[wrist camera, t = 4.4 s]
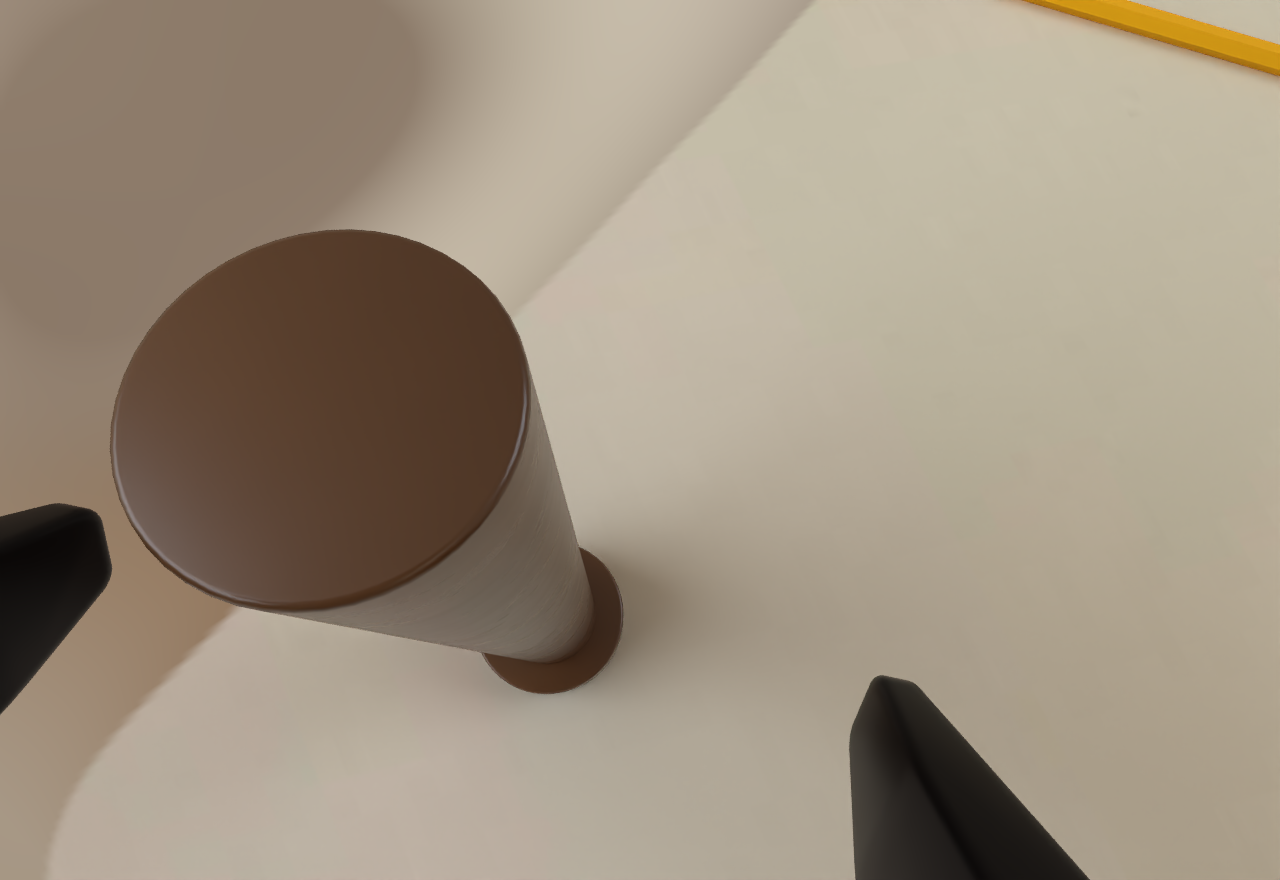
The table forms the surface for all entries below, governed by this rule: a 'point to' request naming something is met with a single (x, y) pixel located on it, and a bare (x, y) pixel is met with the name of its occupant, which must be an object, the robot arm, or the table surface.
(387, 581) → the muddler
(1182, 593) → the table surface
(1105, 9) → the pencil
